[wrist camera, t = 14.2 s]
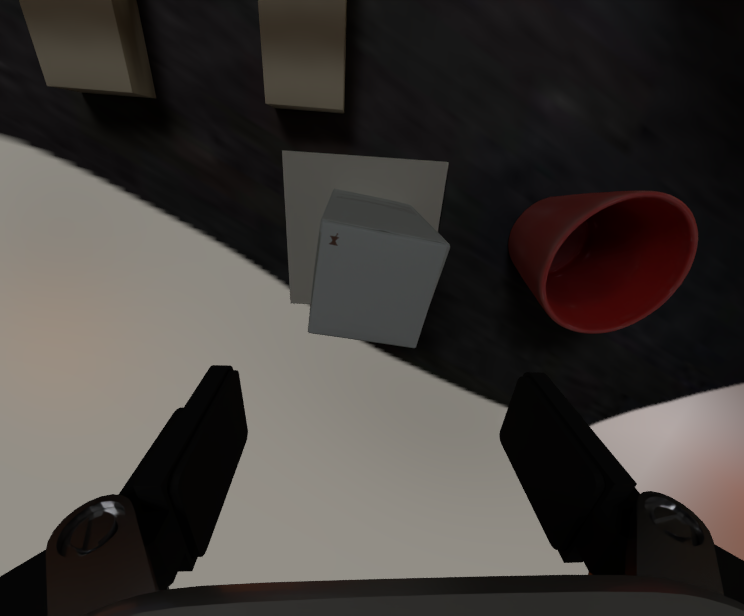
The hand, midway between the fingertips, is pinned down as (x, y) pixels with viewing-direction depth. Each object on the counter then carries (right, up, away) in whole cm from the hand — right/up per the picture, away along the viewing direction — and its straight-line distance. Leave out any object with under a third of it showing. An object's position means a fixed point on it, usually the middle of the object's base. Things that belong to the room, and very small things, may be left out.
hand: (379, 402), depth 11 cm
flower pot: (+17, +10, +21) cm, 29 cm away
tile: (-1, +10, +20) cm, 22 cm away
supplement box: (-1, +10, +19) cm, 22 cm away
